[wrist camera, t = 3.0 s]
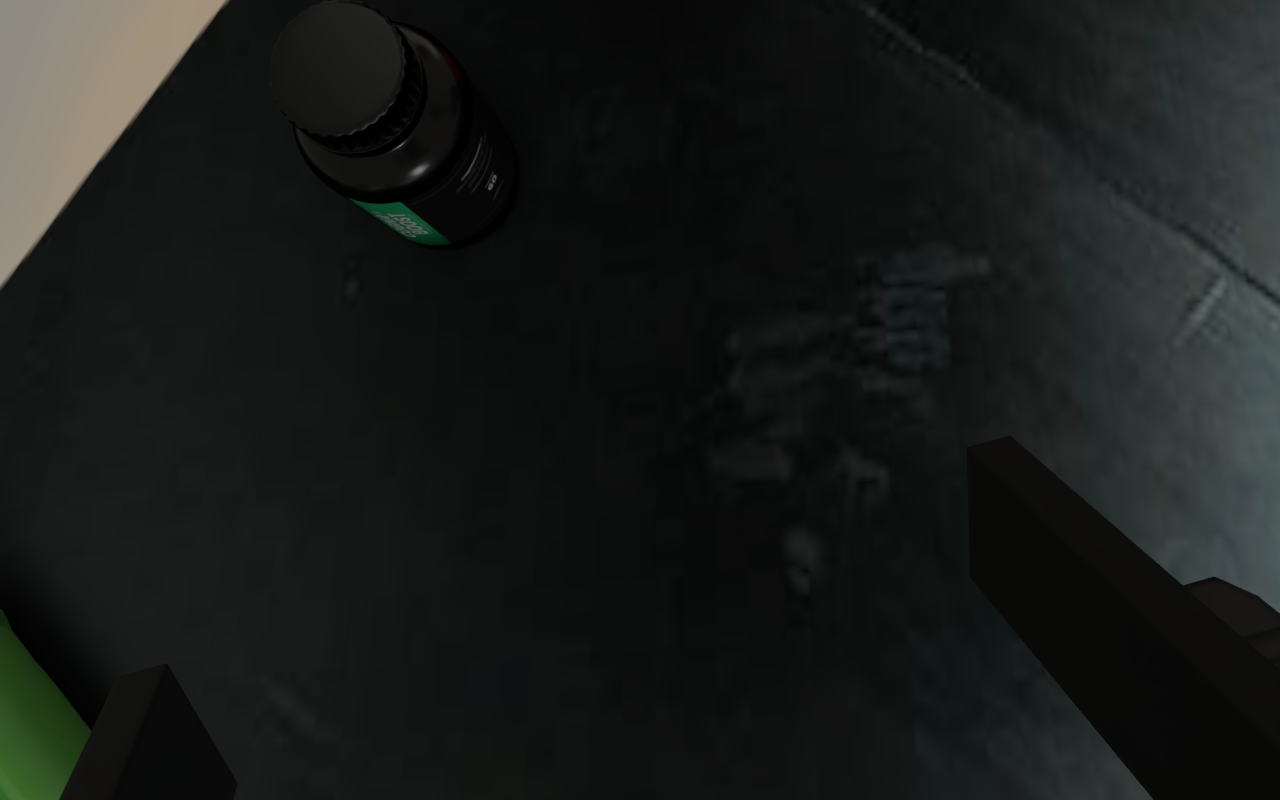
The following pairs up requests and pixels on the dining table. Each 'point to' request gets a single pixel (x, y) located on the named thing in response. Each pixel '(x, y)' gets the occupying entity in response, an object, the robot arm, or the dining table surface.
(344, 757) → the dining table surface
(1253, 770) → the robot arm
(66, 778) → the speaker
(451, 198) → the supplement bottle
